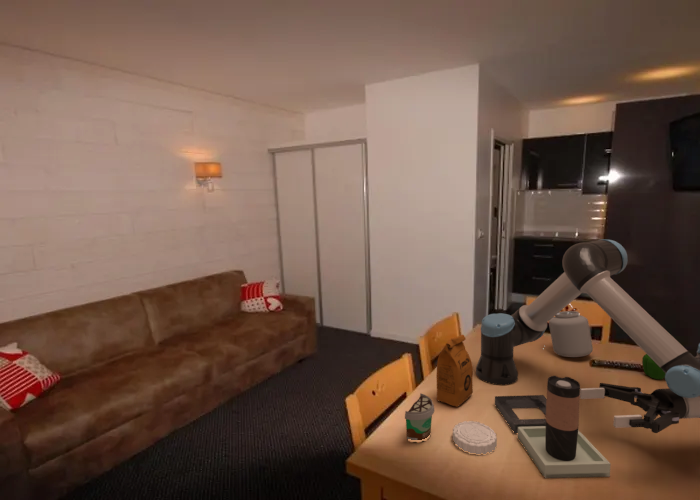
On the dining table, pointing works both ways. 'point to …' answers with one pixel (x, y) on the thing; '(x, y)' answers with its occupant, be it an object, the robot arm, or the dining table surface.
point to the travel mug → (562, 417)
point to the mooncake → (474, 437)
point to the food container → (419, 418)
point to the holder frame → (526, 401)
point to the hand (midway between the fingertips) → (596, 406)
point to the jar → (570, 334)
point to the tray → (583, 465)
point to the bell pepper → (652, 368)
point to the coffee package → (454, 373)
